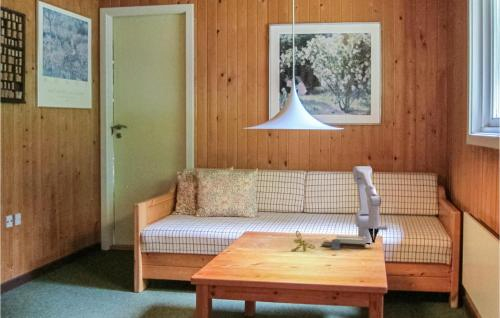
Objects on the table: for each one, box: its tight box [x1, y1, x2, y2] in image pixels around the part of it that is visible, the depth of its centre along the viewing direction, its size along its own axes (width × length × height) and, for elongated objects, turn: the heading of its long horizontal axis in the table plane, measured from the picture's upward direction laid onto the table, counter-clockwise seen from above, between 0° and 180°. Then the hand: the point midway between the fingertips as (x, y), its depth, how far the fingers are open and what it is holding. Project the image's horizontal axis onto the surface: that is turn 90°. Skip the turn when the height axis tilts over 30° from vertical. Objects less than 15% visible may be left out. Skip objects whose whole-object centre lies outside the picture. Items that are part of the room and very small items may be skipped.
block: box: [331, 238, 341, 251], centre depth 292 cm, size 4×4×5 cm
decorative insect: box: [290, 230, 316, 252], centre depth 287 cm, size 13×3×10 cm
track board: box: [321, 240, 367, 250], centre depth 301 cm, size 12×23×1 cm, turn 76°
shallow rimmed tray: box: [334, 235, 366, 246], centre depth 300 cm, size 10×16×3 cm, turn 76°
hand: (373, 242), depth 297 cm, fingers closed
